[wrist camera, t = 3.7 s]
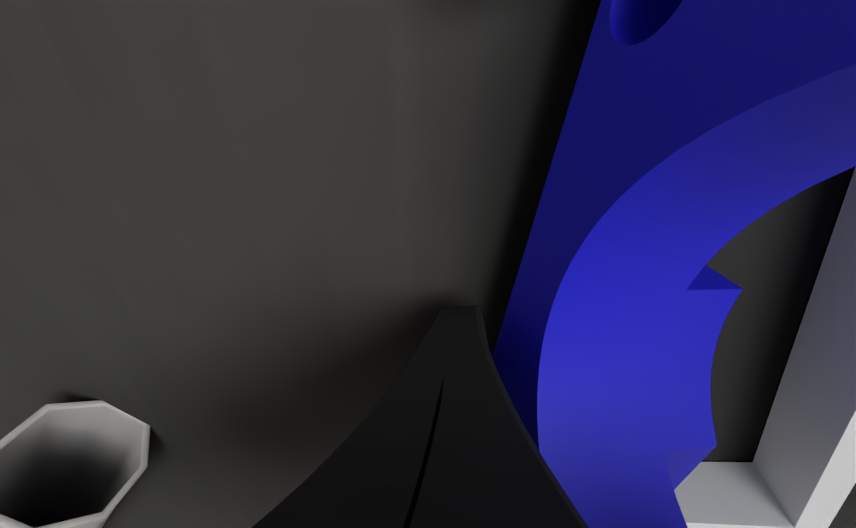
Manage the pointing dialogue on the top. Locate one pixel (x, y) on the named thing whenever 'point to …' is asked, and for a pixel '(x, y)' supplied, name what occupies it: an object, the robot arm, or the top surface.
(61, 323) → the top surface
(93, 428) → the tube
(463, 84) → the top surface
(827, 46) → the cable clip
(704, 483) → the bracket
